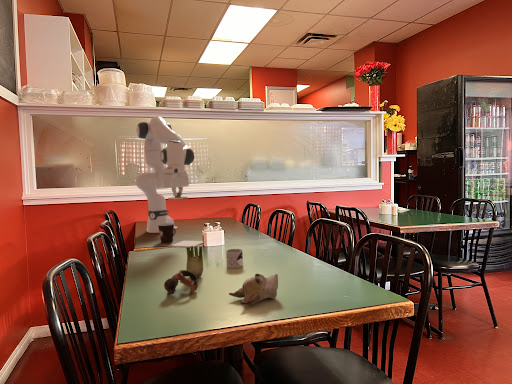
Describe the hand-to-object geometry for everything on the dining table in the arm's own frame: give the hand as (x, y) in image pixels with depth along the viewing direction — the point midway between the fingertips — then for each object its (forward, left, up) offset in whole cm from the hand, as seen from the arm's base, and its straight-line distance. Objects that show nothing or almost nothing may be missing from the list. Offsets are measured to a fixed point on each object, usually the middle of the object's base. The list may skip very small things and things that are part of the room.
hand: (177, 195), depth 198 cm
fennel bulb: (+54, +37, -27) cm, 71 cm away
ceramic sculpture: (+71, +68, -27) cm, 102 cm away
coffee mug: (-2, -9, -27) cm, 28 cm away
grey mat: (+1, +5, -26) cm, 27 cm away
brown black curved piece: (+71, +41, -27) cm, 86 cm away
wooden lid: (0, 0, -2) cm, 2 cm away
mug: (+35, +46, -27) cm, 64 cm away
